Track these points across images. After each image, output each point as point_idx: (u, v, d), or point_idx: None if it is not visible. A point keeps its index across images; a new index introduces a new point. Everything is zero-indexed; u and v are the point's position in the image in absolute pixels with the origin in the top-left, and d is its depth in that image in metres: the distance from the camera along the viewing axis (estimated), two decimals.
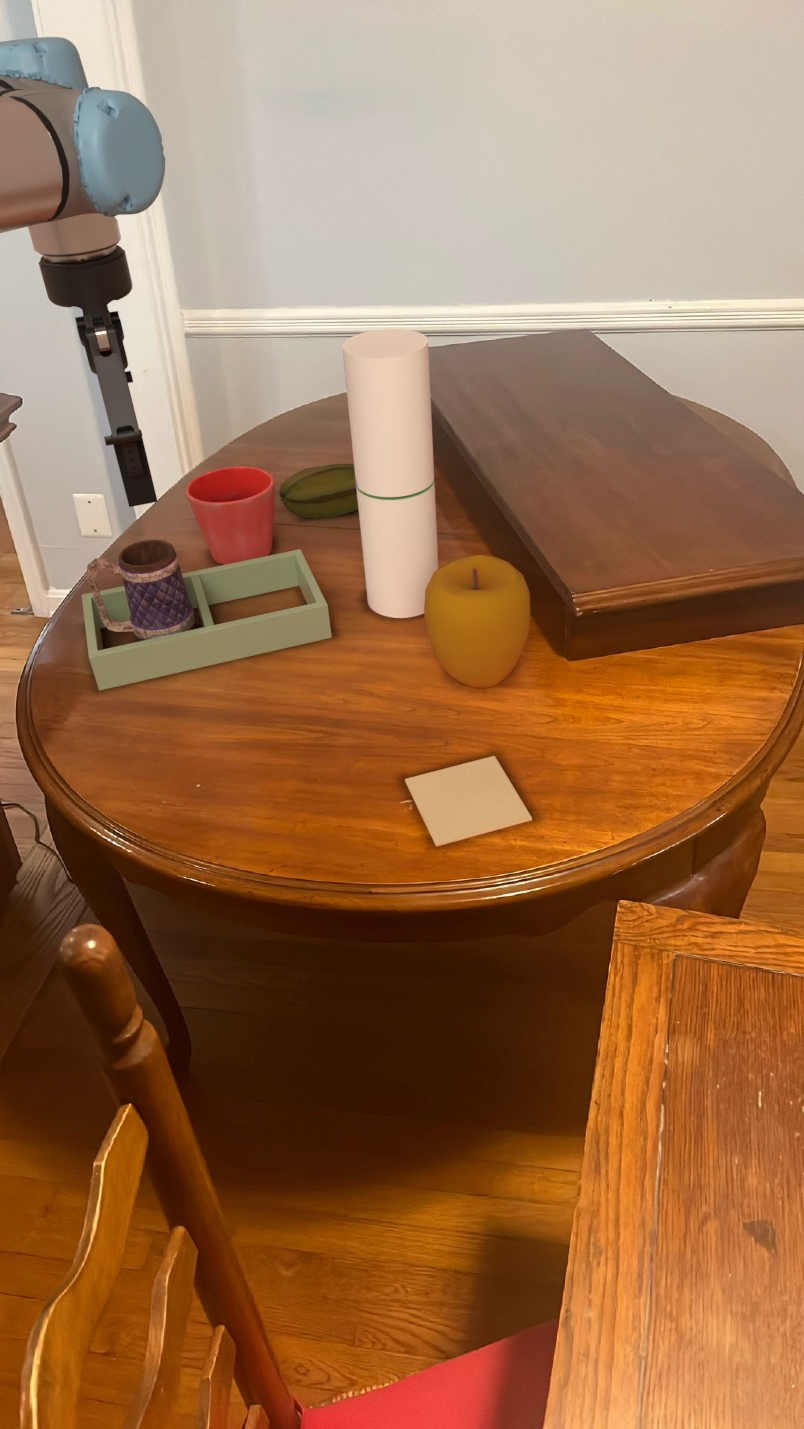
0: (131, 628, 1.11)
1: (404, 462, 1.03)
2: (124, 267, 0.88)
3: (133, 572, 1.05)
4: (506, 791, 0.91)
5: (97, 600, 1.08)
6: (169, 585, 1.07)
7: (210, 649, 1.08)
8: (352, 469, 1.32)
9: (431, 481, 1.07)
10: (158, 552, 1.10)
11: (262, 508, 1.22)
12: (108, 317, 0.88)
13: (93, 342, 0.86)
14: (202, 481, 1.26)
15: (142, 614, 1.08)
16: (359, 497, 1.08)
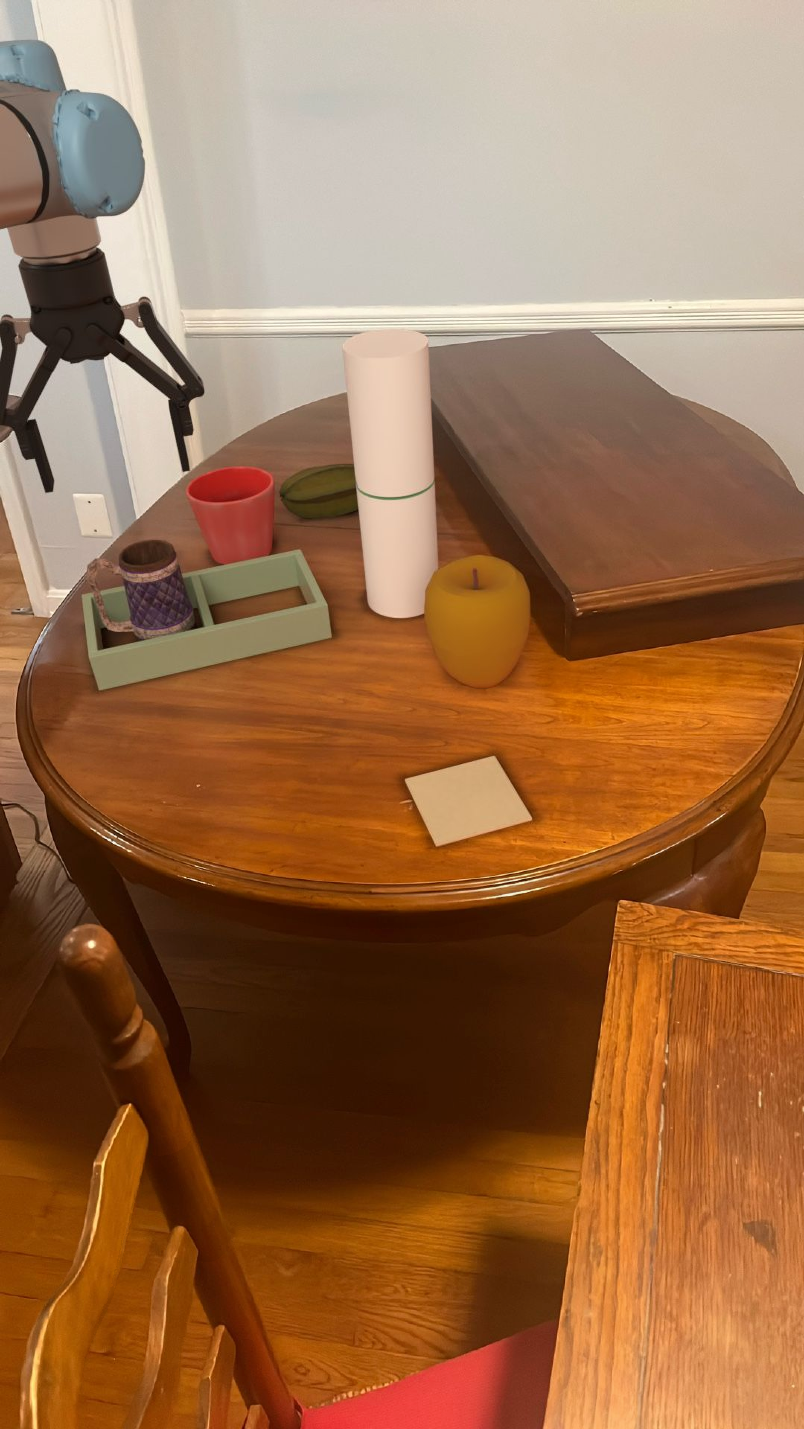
0: (131, 628, 1.11)
1: (404, 462, 1.03)
2: None
3: (133, 572, 1.05)
4: (506, 791, 0.91)
5: (97, 600, 1.08)
6: (169, 585, 1.07)
7: (210, 649, 1.08)
8: (352, 469, 1.32)
9: (431, 481, 1.07)
10: (158, 552, 1.10)
11: (262, 508, 1.22)
12: None
13: (153, 313, 0.91)
14: (202, 481, 1.26)
15: (142, 614, 1.08)
16: (359, 497, 1.08)
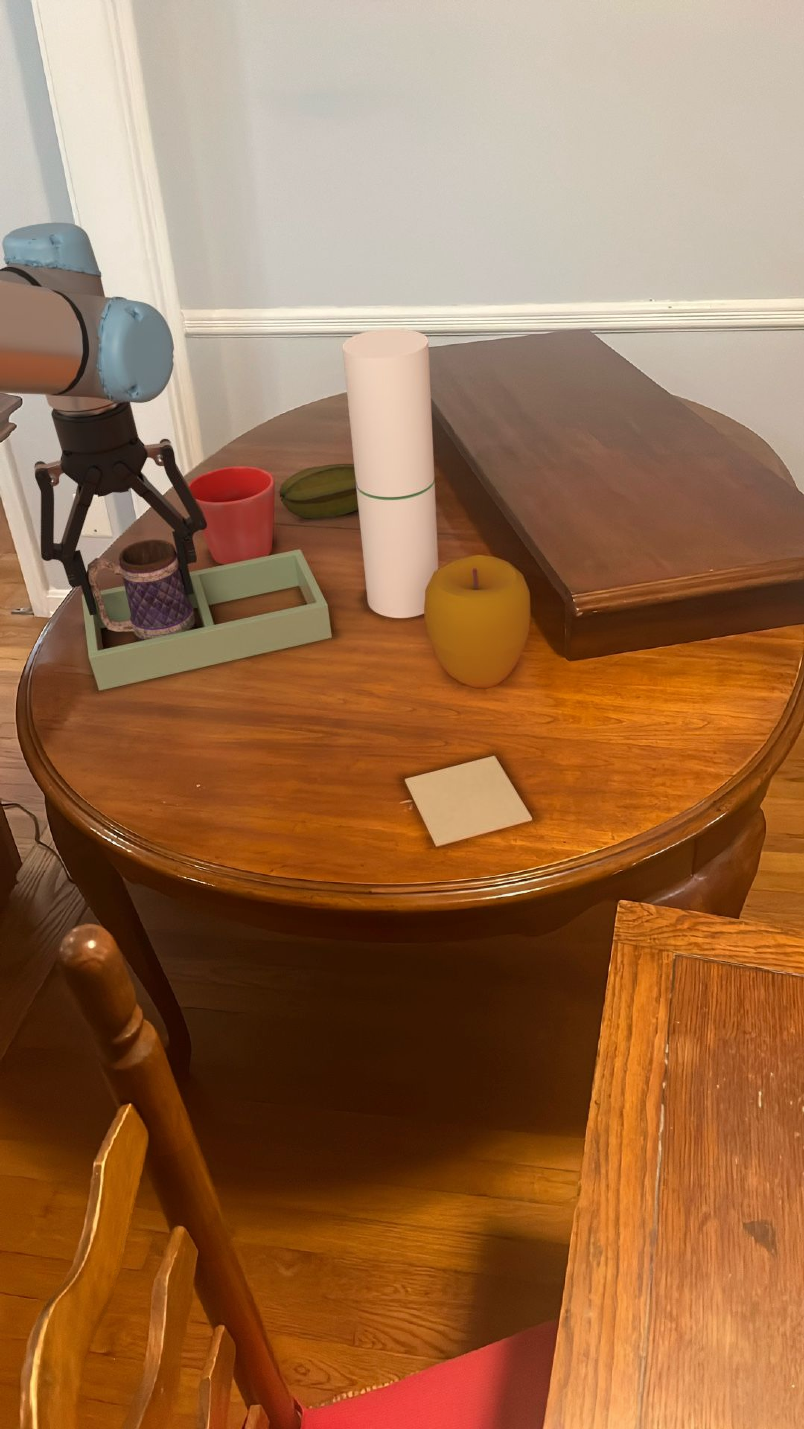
0: (131, 628, 1.11)
1: (404, 462, 1.03)
2: None
3: (134, 571, 1.05)
4: (506, 791, 0.91)
5: (98, 599, 1.08)
6: (169, 585, 1.07)
7: (210, 649, 1.08)
8: (352, 469, 1.32)
9: (431, 481, 1.07)
10: (158, 552, 1.10)
11: (262, 508, 1.22)
12: None
13: None
14: (202, 481, 1.26)
15: (142, 614, 1.08)
16: (359, 497, 1.08)
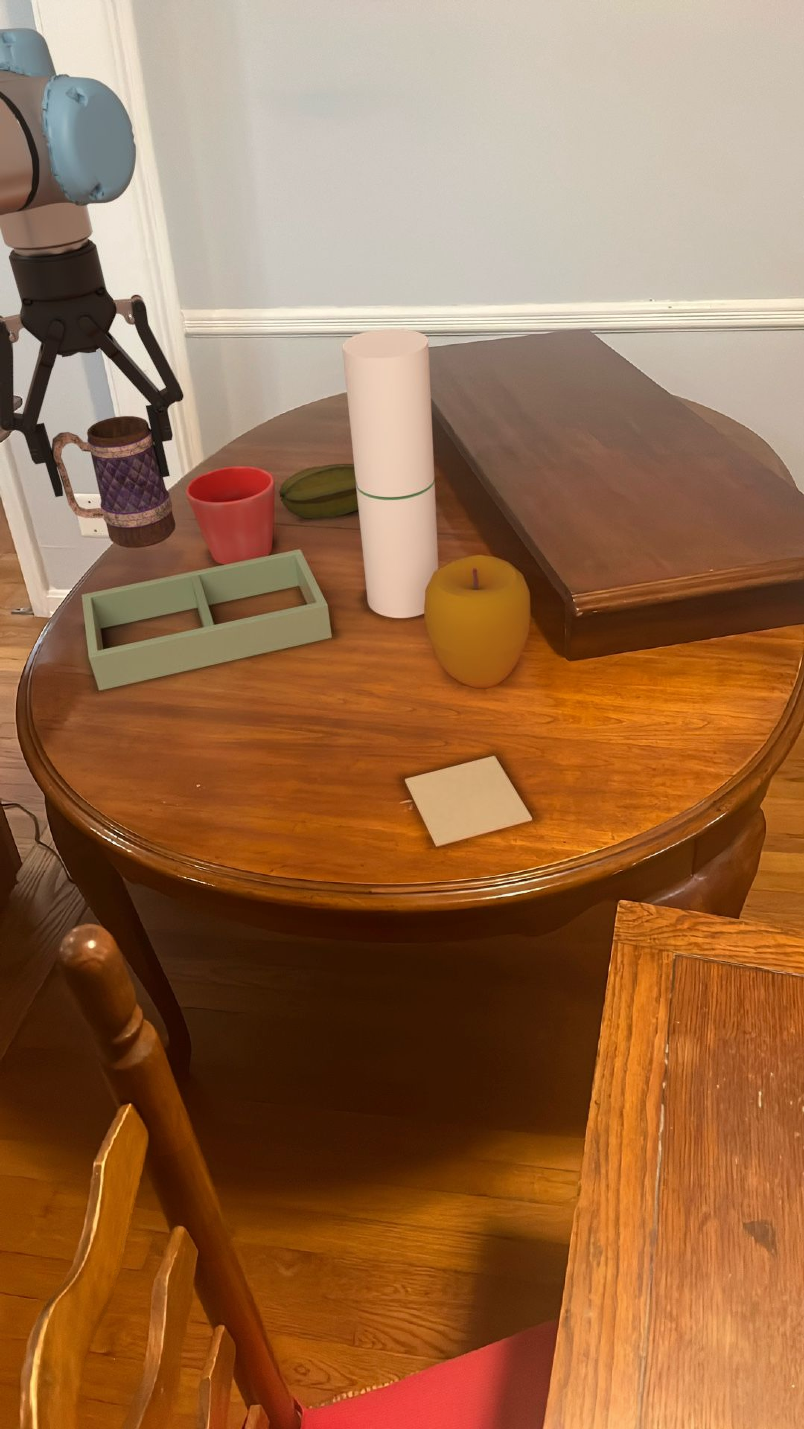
0: (101, 515, 1.01)
1: (404, 462, 1.03)
2: None
3: (103, 445, 0.96)
4: (506, 791, 0.91)
5: (64, 480, 0.98)
6: (142, 463, 0.98)
7: (210, 649, 1.08)
8: (352, 469, 1.32)
9: (431, 481, 1.07)
10: (131, 431, 1.00)
11: (262, 508, 1.22)
12: None
13: (146, 312, 0.92)
14: (202, 481, 1.26)
15: (113, 496, 0.99)
16: (359, 497, 1.08)
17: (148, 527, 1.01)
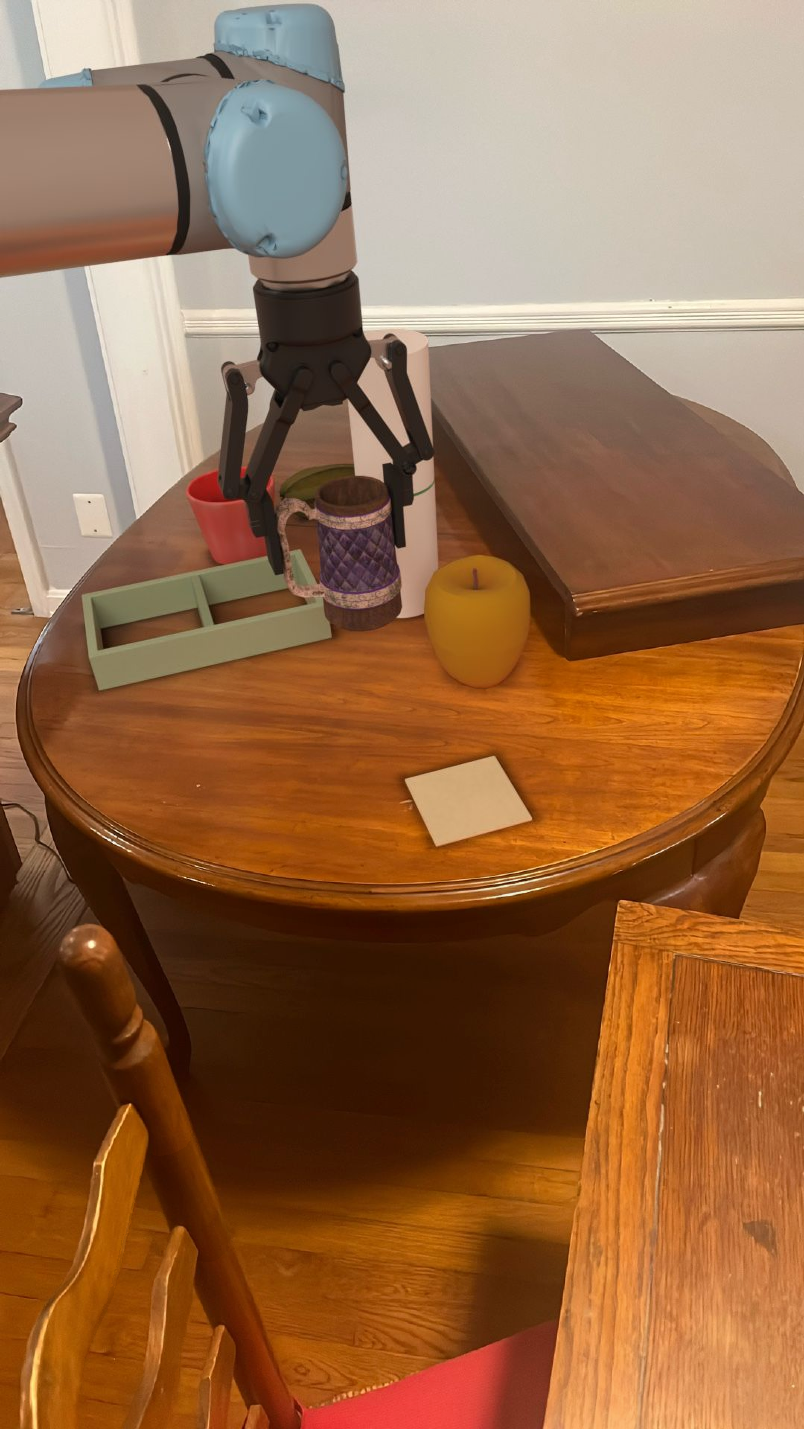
0: (322, 593, 0.85)
1: None
2: None
3: (339, 515, 0.79)
4: (506, 791, 0.91)
5: (285, 554, 0.81)
6: (382, 534, 0.81)
7: (210, 649, 1.08)
8: (352, 469, 1.32)
9: (431, 481, 1.07)
10: (359, 493, 0.84)
11: None
12: None
13: None
14: (202, 481, 1.26)
15: (343, 573, 0.82)
16: None
17: (379, 608, 0.84)
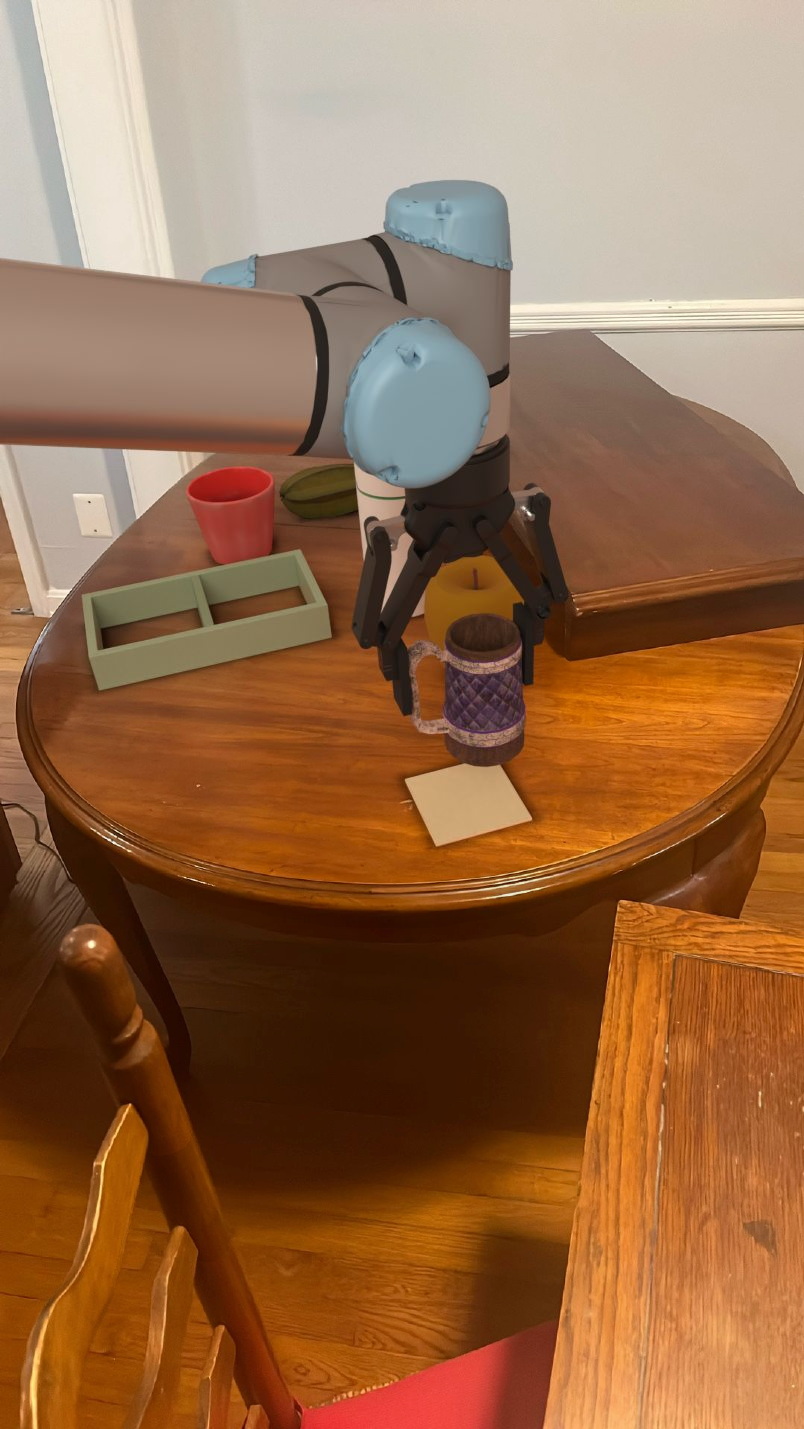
0: (446, 729, 0.84)
1: None
2: None
3: (473, 660, 0.78)
4: (506, 791, 0.91)
5: (414, 695, 0.80)
6: (513, 676, 0.80)
7: (210, 649, 1.08)
8: (352, 469, 1.32)
9: None
10: (486, 629, 0.82)
11: (262, 508, 1.22)
12: None
13: None
14: (202, 481, 1.26)
15: (472, 714, 0.81)
16: (359, 497, 1.08)
17: (506, 745, 0.83)
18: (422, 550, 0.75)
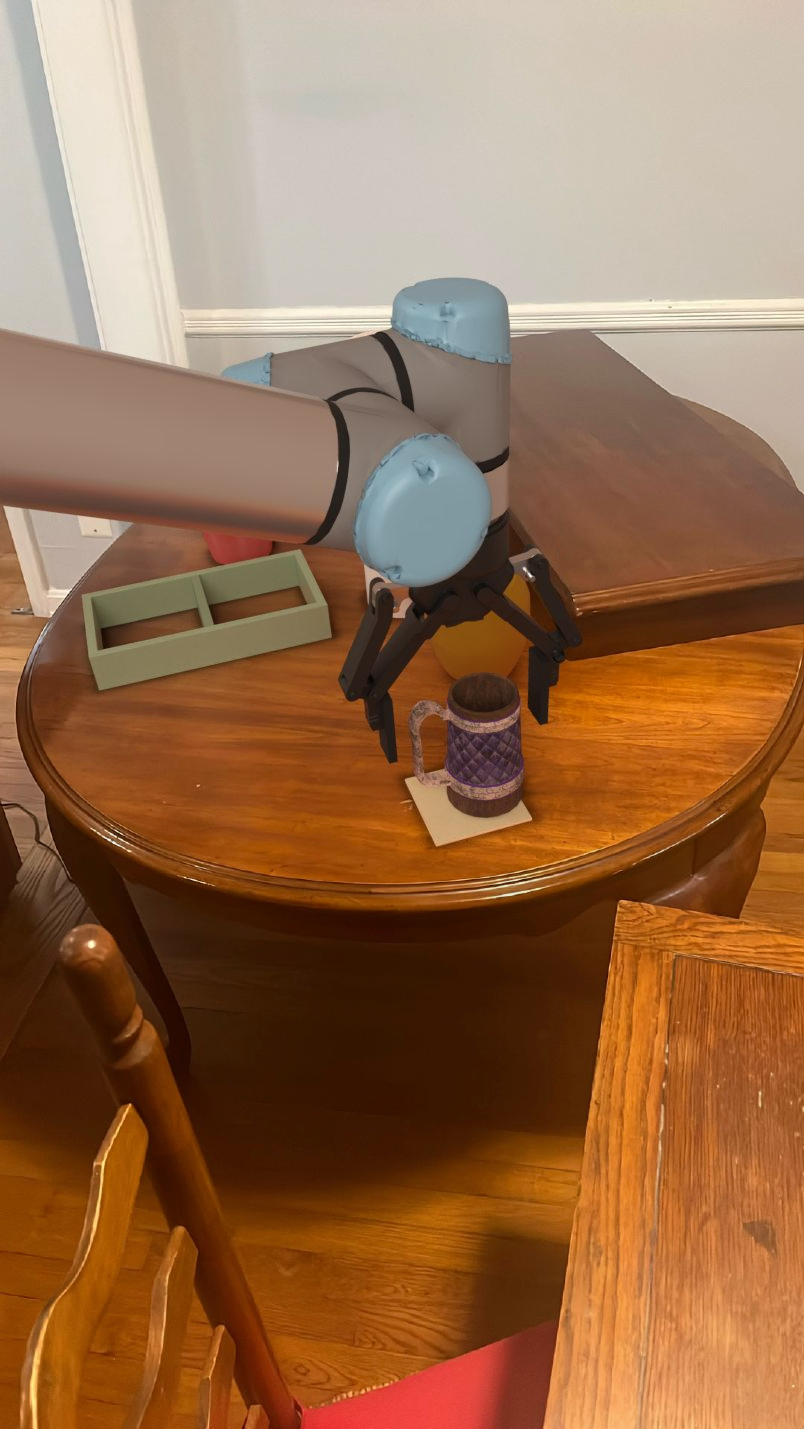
0: (448, 782, 0.87)
1: None
2: None
3: (474, 720, 0.81)
4: None
5: (418, 751, 0.84)
6: (512, 734, 0.83)
7: (210, 649, 1.08)
8: None
9: None
10: (487, 687, 0.86)
11: None
12: None
13: None
14: None
15: (473, 769, 0.85)
16: None
17: (505, 798, 0.87)
18: (420, 612, 0.78)
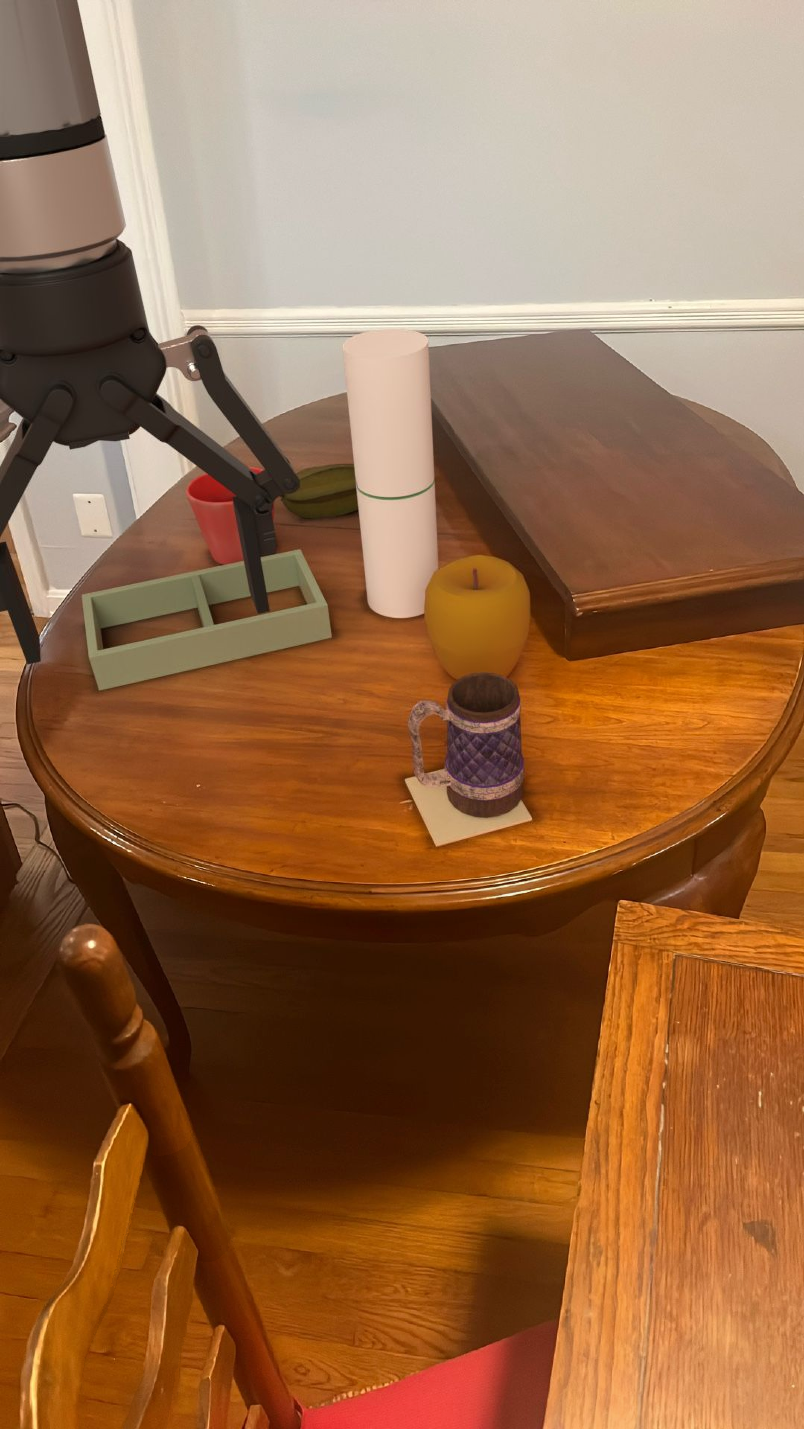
0: (448, 782, 0.87)
1: (404, 462, 1.03)
2: None
3: (474, 720, 0.81)
4: None
5: (418, 751, 0.84)
6: (512, 734, 0.83)
7: (210, 649, 1.08)
8: (352, 469, 1.32)
9: (431, 481, 1.07)
10: (487, 687, 0.86)
11: None
12: None
13: None
14: (202, 481, 1.26)
15: (473, 769, 0.85)
16: (359, 497, 1.08)
17: (505, 798, 0.87)
18: None
